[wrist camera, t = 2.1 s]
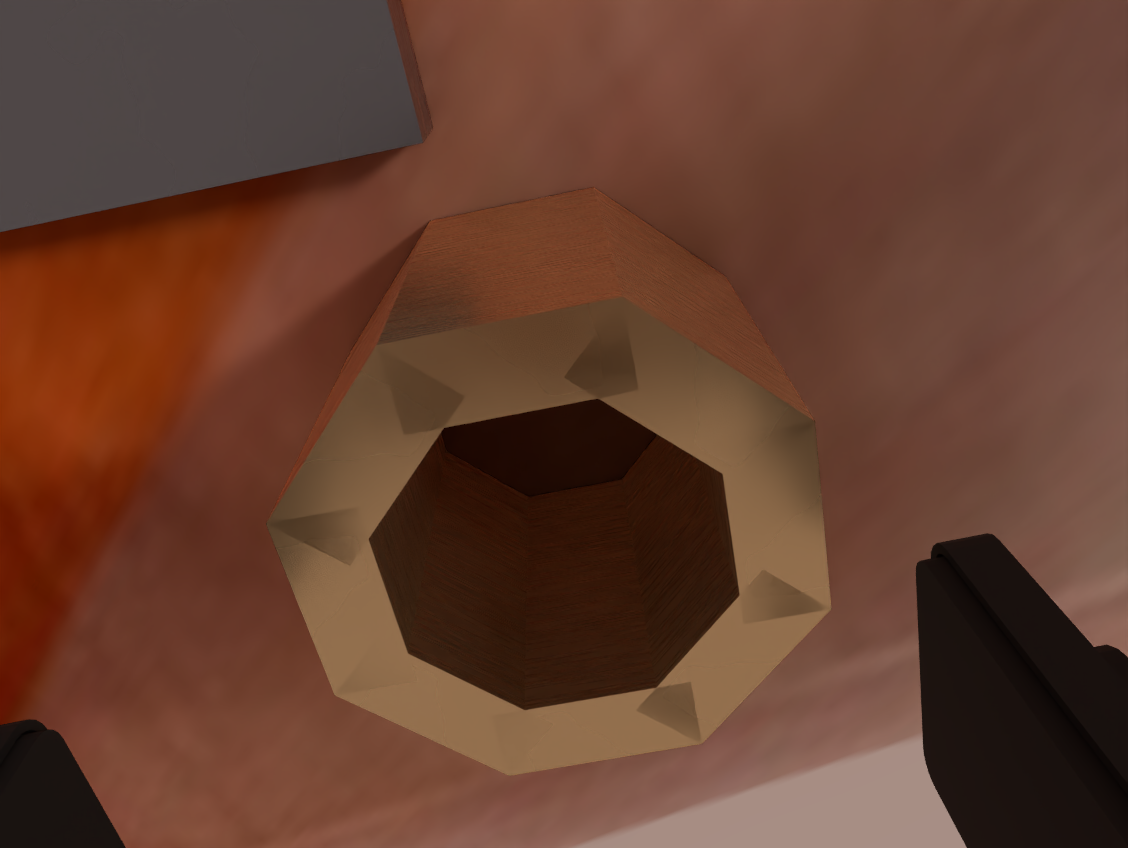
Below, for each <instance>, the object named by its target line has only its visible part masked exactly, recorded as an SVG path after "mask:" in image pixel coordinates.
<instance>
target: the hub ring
mask: <svg viewBox="0 0 1128 848" xmlns="http://www.w3.org/2000/svg"><path fill="white" fill-rule="evenodd" d="M592 399H600V400H602V401H603V402H605V403H607V404H608V405H610V406H611V407H613V408H615V409H616V410H618V411H620V412H621V413H623V414H625V415H626V416H628V417H630V418H631V419H633V420H635V421H636V422H638V423H640V424H641V425H643V426H645V427H646V428H648V429H649V430H651V431H653V432H654V433H656V434H657V436H656V437H655V438H654V439H653V441H652V442H651V443H650V444H649V446H648V447H647V448H646V449H645V451H644V452H643V453H642V455H641V456H640V457H639V458H638V460H637V461H636V462H635V463H634V465H633V466H632V467H631V468H630V470H629V471H628V472H627V474H626V475H625V476H624V477H623V479H622V480H617V481H612V482H606V483H601V484H596V485H590V486H585V487H579V488H574V489H569V490H563V491H558V492H552V493H547V494H542V495H536V496H531V497H527V496H526V495H524V494H522V493H520V492H519V491H517V490H515V489H513V488H511V487H510V486H508V485H506V484H504V483H502V482H501V481H499V480H497V479H495V478H493V477H492V476H490V475H488V474H486V473H485V472H483V471H481V470H479V469H477V468H476V467H474V466H472V465H470V464H468V463H467V462H465V461H463V460H461V459H459V458H458V457H456V456H454V455H452V454H450V453H449V452H447V451H446V448H445V444H444V441H443V438H442V434H441V431H442V430H443V428H446V427H451V426H456V425H462V424H467V423H472V422H477V421H483V420H488V419H493V418H498V417H503V416H509V415H514V414H519V413H524V412H530V411H535V410H540V409H545V408H551V407H556V406H561V405H566V404H571V403H577V402H582V401H587V400H592ZM266 525H267V528H268V530H269V533H270V535H271V538H272V540H273V543H274V545H275V548H276V550H277V553H278V555H279V558H280V560H281V563H282V565H283V568H284V570H285V573H286V575H287V578H288V580H289V582H290V585H291V587H292V590H293V592H294V595H295V597H296V600H297V602H298V605H299V607H300V610H301V612H302V615H303V617H304V620H305V622H306V625H307V627H308V630H309V632H310V635H311V637H312V640H313V642H314V645H315V647H316V650H317V652H318V655H319V657H320V660H321V662H322V665H323V667H324V670H325V672H326V675H327V677H328V680H329V682H330V685H331V687H332V690H333V692H334V695H335V696H337V697H339V698H341V699H344V700H346V701H348V702H350V703H352V704H354V705H357V706H359V707H361V708H363V709H365V710H367V711H370V712H372V713H374V714H376V715H378V716H380V717H383V718H385V719H387V720H389V721H391V722H393V723H396V724H398V725H400V726H402V727H404V728H406V729H409V730H411V731H413V732H415V733H417V734H419V735H422V736H424V737H426V738H428V739H430V740H432V741H435V742H437V743H439V744H441V745H443V746H445V747H448V748H450V749H452V750H454V751H456V752H458V753H461V754H463V755H465V756H467V757H469V758H471V759H474V760H476V761H478V762H480V763H482V764H484V765H487V766H489V767H491V768H493V769H495V770H497V771H500V772H502V773H504V774H506V775H508V776H512V775H518V774H524V773H530V772H536V771H542V770H548V769H554V768H560V767H566V766H572V765H578V764H584V763H590V762H596V761H602V760H608V759H614V758H620V757H626V756H632V755H638V754H644V753H650V752H656V751H662V750H668V749H674V748H680V747H686V746H692V745H698V744H702V743H703V742H704V741H705V740H706V739H707V738H708V737H709V736H710V735H711V734H712V733H713V732H714V731H715V730H716V729H717V728H718V727H719V726H720V725H721V724H722V722H723V721H724V720H725V719H726V718H727V717H728V716H729V715H730V714H731V713H732V712H733V711H734V710H735V709H736V708H737V707H738V706H739V705H740V704H741V703H742V702H743V701H744V700H745V699H746V697H747V696H748V695H749V694H750V693H751V692H752V691H753V690H754V689H755V688H756V687H757V686H758V685H759V684H760V683H761V682H762V681H763V680H764V679H765V678H766V677H767V676H768V675H769V674H770V673H771V671H772V670H773V669H774V668H775V667H776V666H777V665H778V664H779V663H780V662H781V661H782V660H783V659H784V658H785V657H786V656H787V655H788V654H789V653H790V652H791V651H792V650H793V649H794V648H795V646H796V645H797V644H798V643H799V642H800V641H801V640H802V639H803V638H804V637H805V636H806V635H807V634H808V633H809V632H810V631H811V630H812V629H813V628H814V627H815V626H816V625H817V624H818V623H819V621H820V620H821V619H822V618H823V617H824V616H825V615H826V614H827V613H828V612H829V611H830V610H831V598H830V587H829V576H828V564H827V553H826V542H825V530H824V519H823V508H822V496H821V485H820V473H819V462H818V451H817V439H816V428H815V420H814V419H813V417H812V416H811V414H810V412H809V411H808V409H807V408H806V406H805V404H804V403H803V401H802V399H801V398H800V396H799V395H798V393H797V391H796V390H795V388H794V386H793V385H792V383H791V382H790V380H789V378H788V377H787V375H786V373H785V372H784V370H783V369H782V367H781V365H780V364H779V362H778V361H777V359H776V357H775V356H774V354H773V352H772V351H771V349H770V348H769V346H768V344H767V343H766V341H765V339H764V338H763V336H762V335H761V333H760V331H759V330H758V328H757V326H756V325H755V323H754V322H753V320H752V318H751V317H750V315H749V314H748V312H747V310H746V309H745V307H744V305H743V304H742V302H741V301H740V299H739V297H738V296H737V294H736V292H735V291H734V289H733V288H732V286H731V284H730V283H729V281H728V279H727V278H726V276H724V275H723V274H721V273H720V272H718V271H717V270H715V269H714V268H712V267H711V266H709V265H708V264H706V263H705V262H703V261H702V260H700V259H699V258H698V257H696V256H695V255H693V254H692V253H690V252H689V251H687V250H686V249H684V248H683V247H681V246H680V245H678V244H677V243H675V242H674V241H672V240H671V239H669V238H668V237H667V236H665V235H664V234H662V233H661V232H659V231H658V230H656V229H655V228H653V227H652V226H650V225H649V224H647V223H646V222H644V221H643V220H641V219H640V218H638V217H637V216H636V215H634V214H633V213H631V212H630V211H628V210H627V209H625V208H624V207H622V206H621V205H619V204H618V203H616V202H615V201H613V200H612V199H610V198H609V197H607V196H606V195H605V194H603V193H602V192H600V191H599V190H597V189H596V188H594V187H592V188H587V189H582V190H577V191H572V192H567V193H562V194H558V195H553V196H548V197H543V198H538V199H533V200H528V201H524V202H519V203H514V204H509V205H504V206H499V207H494V208H490V209H485V210H480V211H475V212H470V213H465V214H460V215H456V216H451V217H446V218H441V219H436V220H431V221H430V222H429V223H428V225H427V227H426V228H425V230H424V232H423V233H422V235H421V236H420V238H419V240H418V241H417V243H416V245H415V246H414V248H413V250H412V251H411V253H410V255H409V256H408V258H407V259H406V261H405V263H404V264H403V266H402V268H401V269H400V271H399V273H398V274H397V276H396V278H395V279H394V281H393V283H392V284H391V286H390V287H389V289H388V291H387V292H386V294H385V296H384V297H383V299H382V301H381V302H380V304H379V306H378V307H377V309H376V310H375V312H374V314H373V315H372V317H371V319H370V320H369V322H368V324H367V325H366V327H365V329H364V330H363V332H362V334H361V335H360V337H359V338H358V340H357V342H356V343H355V345H354V347H353V348H352V350H351V352H350V354H349V356H348V358H347V360H346V362H345V364H344V366H343V368H342V370H341V372H340V374H339V376H338V378H337V380H336V382H335V384H334V386H333V388H332V390H331V392H330V394H329V397H328V399H327V401H326V403H325V405H324V407H323V409H322V411H321V413H320V415H319V417H318V419H317V421H316V423H315V425H314V427H313V429H312V431H311V433H310V435H309V437H308V439H307V441H306V443H305V445H304V447H303V449H302V451H301V453H300V455H299V458H298V460H297V462H296V464H295V466H294V468H293V470H292V472H291V474H290V476H289V478H288V480H287V482H286V484H285V486H284V488H283V490H282V492H281V494H280V496H279V498H278V500H277V502H276V504H275V506H274V508H273V510H272V512H271V514H270V516H269V519H268V521H267V523H266Z"/></svg>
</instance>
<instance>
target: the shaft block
mask: <svg viewBox="0 0 1128 848" xmlns="http://www.w3.org/2000/svg"><path fill="white" fill-rule="evenodd" d="M432 129H433V125H432V121H431V117H430V113H429V109H428V105H427V101H426V97H425V93H424V90H423V86H422V82H421V78H420V74H419V70H418V66H417V62H416V58H415V54H414V50H413V46H412V42H411V38H410V34H409V30H408V26H407V22H406V18H405V14H404V10H403V6H402V2H401V0H0V232H3V231H8V230H12V229H17V228H22V227H27V226H31V225H36V224H41V223H46V222H50V221H55V220H60V219H64V218H69V217H74V216H79V215H83V214H88V213H93V212H98V211H102V210H107V209H112V208H117V207H121V206H126V205H131V204H135V203H140V202H145V201H150V200H154V199H159V198H164V197H169V196H173V195H178V194H183V193H188V192H192V191H197V190H202V189H206V188H211V187H216V186H221V185H225V184H230V183H235V182H240V181H244V180H249V179H254V178H259V177H263V176H268V175H273V174H277V173H282V172H287V171H292V170H296V169H301V168H306V167H311V166H315V165H320V164H325V163H330V162H334V161H339V160H344V159H348V158H353V157H358V156H363V155H367V154H372V153H377V152H382V151H386V150H391V149H396V148H400V147H405V146H410V145H415V144H419V143H423V142H424V141H425V139H426V138H427V136H428V135H429V133H430V132H431V130H432Z"/></svg>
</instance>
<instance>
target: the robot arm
mask: <svg viewBox="0 0 1128 848" xmlns="http://www.w3.org/2000/svg"><path fill="white" fill-rule="evenodd" d="M916 586H917V610H918V634H919V658H920V681H921V705H922V729H923V749H924V756H925V761H926V765H927V768H928V772H929V774H930V777H931V779H932V782H933V784H934V786H935V788H936V790H937V792H938V794H939V795H940V798H941V799H942V801H943V803H944V805H945V807H946V809H947V811H948V813H949V815H950V816H951V818H952V820H953V822H954V824H955V825H956V828H957V830H958V832H959V833H960V835H961V837H962V839H963V841H964V843H965V845H966V847H967V848H1128V657H1127V656H1126V655H1125V654H1123V653H1122V652H1121V651H1120V650H1119V649H1117V648H1114V647H1112V646H1109V645H1103V646H1097V647H1093V646H1092V644H1091V643H1090V642H1089V641H1088V640H1087V639H1086V638H1085V636H1084V635H1083V634H1082V633H1081V632H1080V631H1079V630H1078V629H1077V627H1076V626H1075V625H1074V624H1073V623H1072V622H1071V621H1070V620H1069V618H1068V617H1067V616H1066V615H1065V614H1064V613H1063V612H1062V610H1061V609H1060V608H1059V607H1058V606H1057V605H1056V604H1055V603H1054V601H1053V600H1052V599H1051V598H1050V597H1049V596H1048V595H1047V594H1046V592H1045V591H1044V590H1043V589H1042V588H1041V587H1040V586H1039V584H1038V583H1037V582H1036V581H1035V580H1034V579H1033V578H1032V577H1031V575H1030V574H1029V573H1028V572H1027V571H1026V570H1025V569H1024V568H1023V566H1022V565H1021V564H1020V563H1019V562H1018V561H1017V560H1016V558H1015V557H1014V556H1013V555H1012V554H1011V553H1010V552H1009V551H1008V549H1007V548H1006V547H1005V546H1004V545H1003V544H1002V543H1001V541H1000V540H999V539H997V538H996V537H995V536H994V535H992V534H988V533H987V534H982V535H977V536H972V537H966V538H961V539H956V540H951V541H946V542H941V543H936V544H935V545H934V546H933V548H932V551H931V559H927V560H922V561H919V562H918V563H917V566H916ZM0 848H126V847H125V846H124V844H123V842H122V840H121V839H120V837H119V835H118V833H117V832H116V830H115V828H114V826H113V825H112V823H111V821H110V820H109V818H108V816H107V814H106V813H105V811H104V809H103V807H102V806H101V804H100V802H99V800H98V799H97V797H96V795H95V793H94V792H93V790H92V788H91V786H90V785H89V783H88V781H87V779H86V778H85V776H84V774H83V772H82V771H81V769H80V767H79V765H78V764H77V762H76V760H75V758H74V757H73V755H72V753H71V751H70V750H69V748H68V746H67V744H66V743H65V741H64V739H63V738H62V736H61V735H60V734H59V733H58V732H56V731H55V730H47V728H46V727H45V726H44V725H43V724H42V723H40V722H39V721H37V720H23V721H18V722H13V723H8V724H3V725H0Z"/></svg>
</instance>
